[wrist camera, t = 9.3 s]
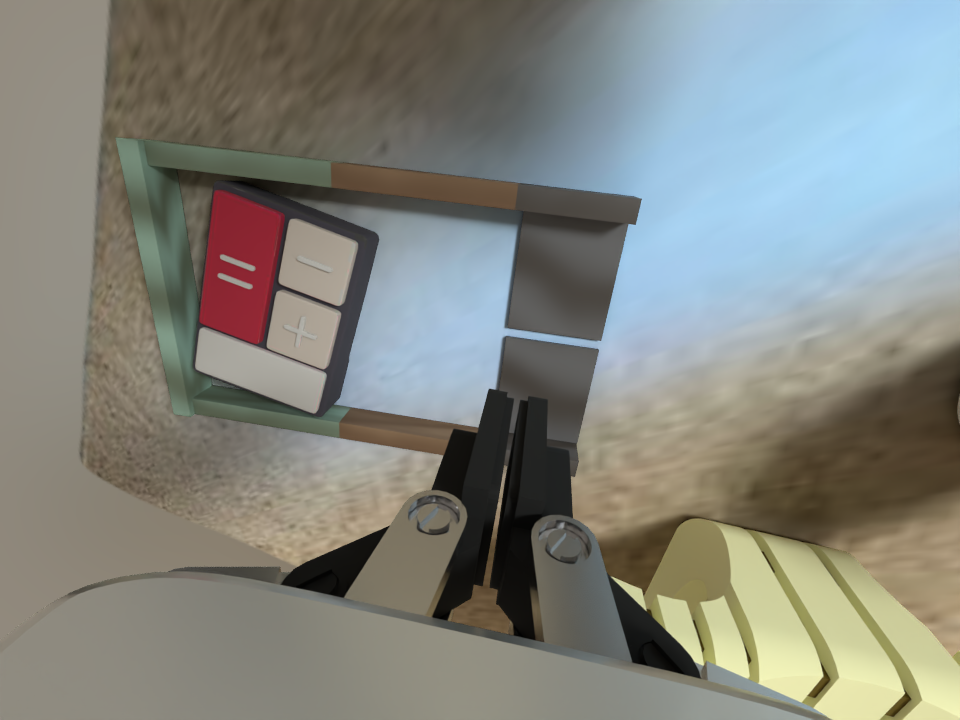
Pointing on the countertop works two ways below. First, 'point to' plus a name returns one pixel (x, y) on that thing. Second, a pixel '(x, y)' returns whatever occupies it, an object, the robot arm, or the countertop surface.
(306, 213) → the calculator
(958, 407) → the supplement tub
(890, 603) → the slatted curved stool
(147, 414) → the countertop surface
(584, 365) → the channel
